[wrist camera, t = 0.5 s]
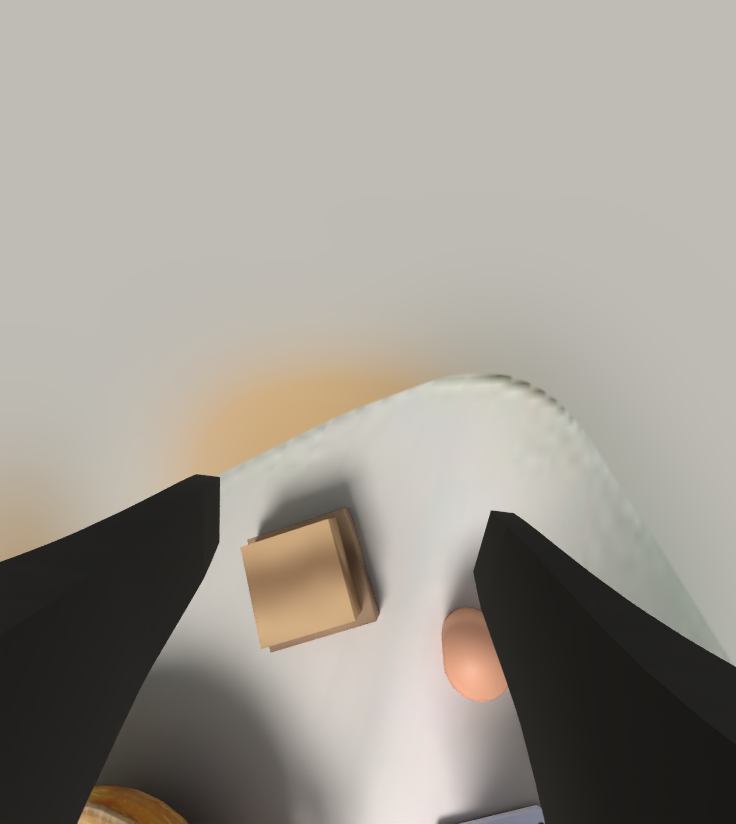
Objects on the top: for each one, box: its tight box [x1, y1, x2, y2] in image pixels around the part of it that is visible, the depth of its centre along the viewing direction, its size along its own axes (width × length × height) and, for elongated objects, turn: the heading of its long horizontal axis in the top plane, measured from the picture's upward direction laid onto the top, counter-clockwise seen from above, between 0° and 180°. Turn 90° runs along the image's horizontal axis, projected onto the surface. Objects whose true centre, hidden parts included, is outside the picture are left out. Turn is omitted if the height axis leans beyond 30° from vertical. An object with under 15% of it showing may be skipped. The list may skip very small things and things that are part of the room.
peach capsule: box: [442, 607, 508, 702], centre depth 27 cm, size 4×4×5 cm
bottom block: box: [248, 508, 379, 652], centre depth 32 cm, size 9×9×2 cm
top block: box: [241, 517, 361, 649], centre depth 30 cm, size 8×8×2 cm
